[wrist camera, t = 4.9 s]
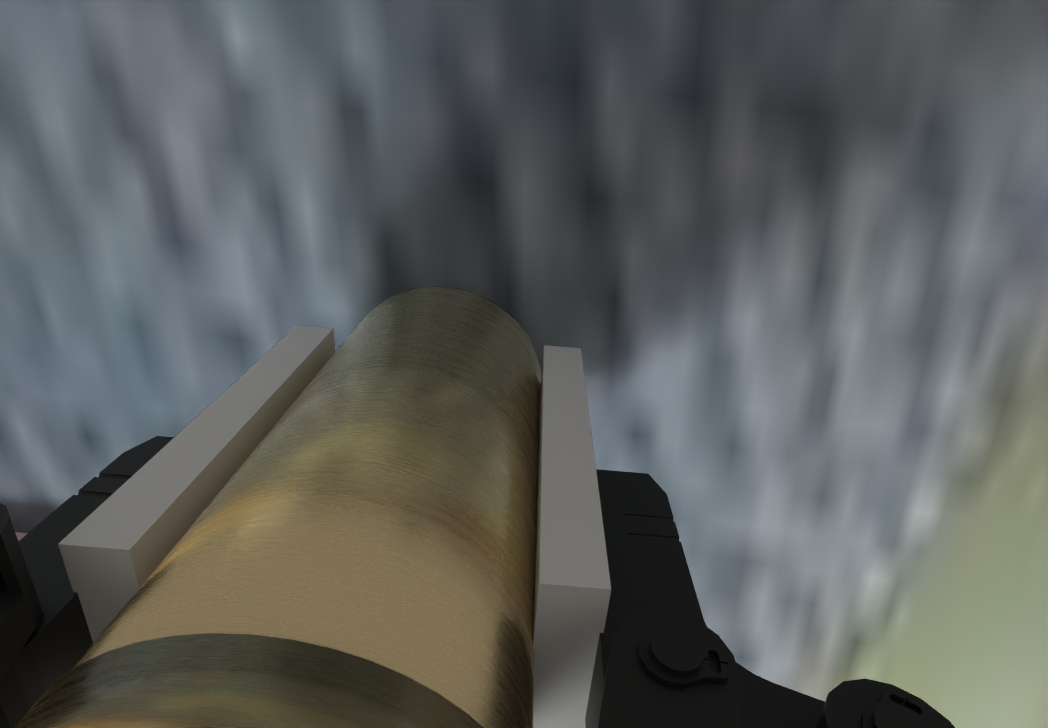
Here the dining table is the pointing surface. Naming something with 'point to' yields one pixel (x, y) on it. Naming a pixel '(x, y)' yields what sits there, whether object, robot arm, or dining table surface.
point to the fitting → (351, 551)
